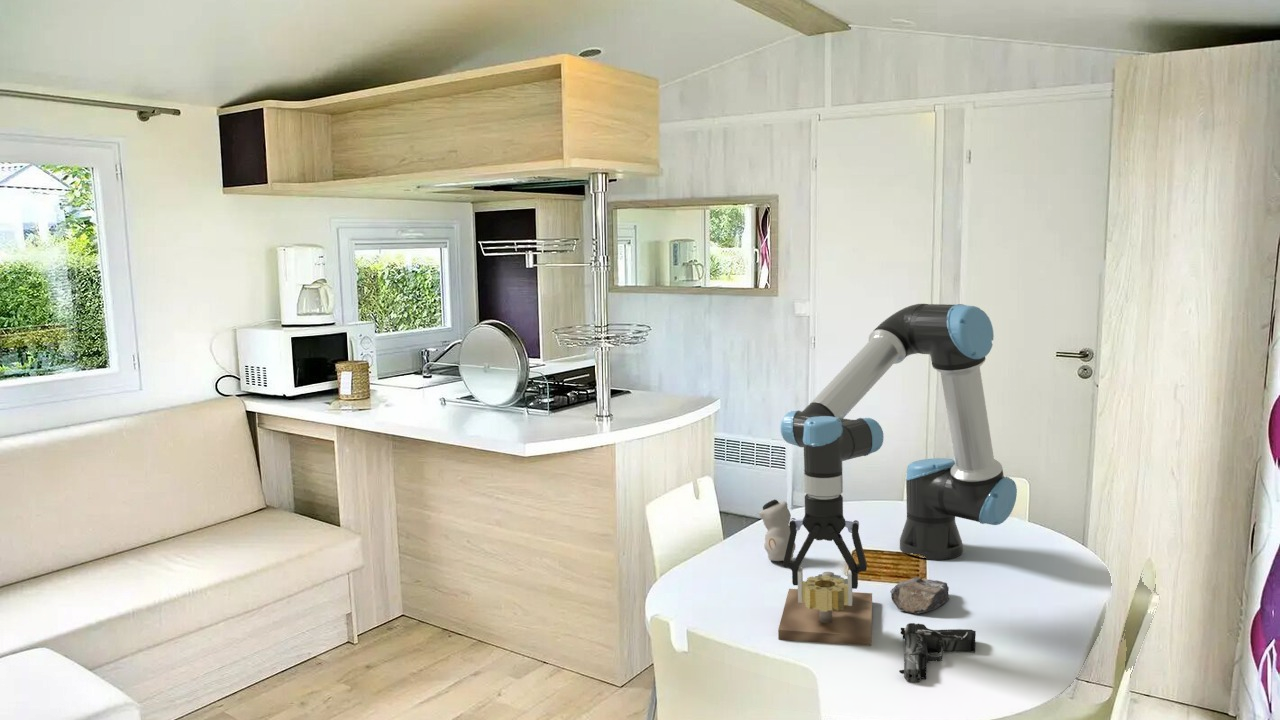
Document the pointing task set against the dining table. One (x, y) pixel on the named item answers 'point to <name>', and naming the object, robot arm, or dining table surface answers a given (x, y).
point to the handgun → (931, 647)
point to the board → (827, 632)
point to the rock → (919, 595)
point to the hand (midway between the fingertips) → (825, 601)
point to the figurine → (776, 529)
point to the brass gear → (825, 593)
